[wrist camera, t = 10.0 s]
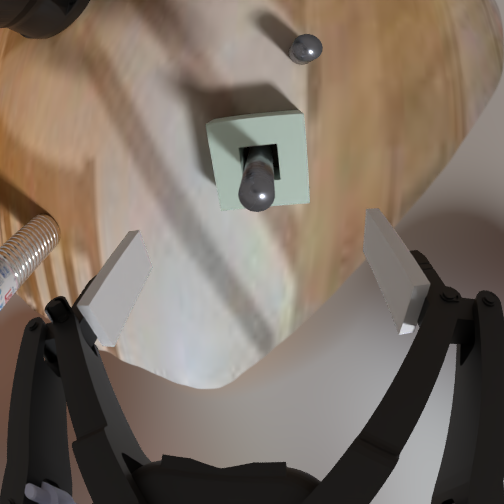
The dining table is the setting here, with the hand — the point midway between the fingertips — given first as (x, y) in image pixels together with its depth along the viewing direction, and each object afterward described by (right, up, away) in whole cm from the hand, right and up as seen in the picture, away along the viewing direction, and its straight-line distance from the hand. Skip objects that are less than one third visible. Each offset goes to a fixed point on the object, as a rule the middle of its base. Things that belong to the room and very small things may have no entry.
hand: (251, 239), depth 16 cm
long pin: (+1, +11, +17) cm, 21 cm away
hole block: (+1, +11, +17) cm, 21 cm away
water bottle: (-36, +3, +25) cm, 44 cm away
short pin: (+6, +22, +10) cm, 25 cm away
